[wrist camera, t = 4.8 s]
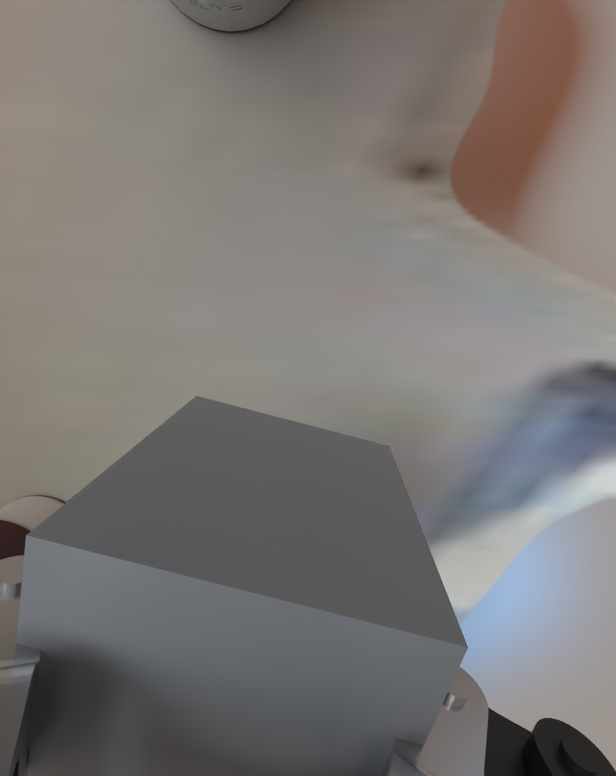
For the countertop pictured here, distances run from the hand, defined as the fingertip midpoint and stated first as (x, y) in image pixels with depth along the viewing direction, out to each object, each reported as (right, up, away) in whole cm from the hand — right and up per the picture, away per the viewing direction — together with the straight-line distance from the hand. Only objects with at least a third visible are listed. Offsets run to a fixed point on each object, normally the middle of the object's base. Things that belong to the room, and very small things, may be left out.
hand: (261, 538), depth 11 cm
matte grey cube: (0, 0, +2) cm, 2 cm away
